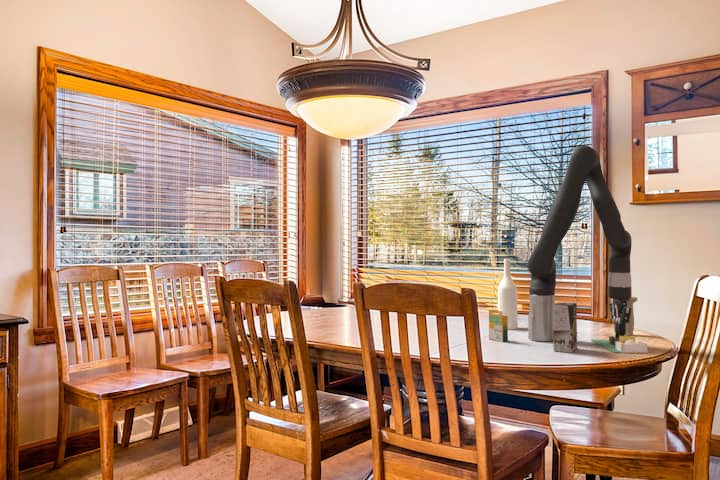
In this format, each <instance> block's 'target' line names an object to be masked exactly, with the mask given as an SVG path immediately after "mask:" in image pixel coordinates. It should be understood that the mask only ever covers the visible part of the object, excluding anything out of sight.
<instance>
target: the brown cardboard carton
mask: <svg viewBox="0 0 720 480" xmlns="http://www.w3.org/2000/svg"><path fill="white" fill-rule="evenodd" d="M608 340H609V344H611V345H615V336H613V335H611V336H608Z"/></svg>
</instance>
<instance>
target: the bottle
mask: <svg viewBox="0 0 720 480" xmlns="http://www.w3.org/2000/svg"><path fill="white" fill-rule="evenodd" d="M511 276H512V275H511V259H510V258H504V259H503V278H502V280H501V282H500V283H499V285H498V287H497V309H498V310H497V311H502V315H505V316H508V331H510V330H518V327H519V325H518V287H517V285H516V284H515V283H516V282H514V281H513V278H512V277H511ZM497 314H499V313H498V312H497Z"/></svg>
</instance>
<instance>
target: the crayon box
mask: <svg viewBox="0 0 720 480" xmlns="http://www.w3.org/2000/svg"><path fill="white" fill-rule="evenodd" d="M498 313H499V314H498ZM508 331H509V330H508V316H505V315H502V311H498V310H495V309H488V340H491V341H496V342H500V343H506V342H509V340H508V339H509V333H508Z"/></svg>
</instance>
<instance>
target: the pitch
mask: <svg viewBox="0 0 720 480" xmlns="http://www.w3.org/2000/svg"><path fill="white" fill-rule="evenodd" d="M591 341H592V343H595V344H597V345H599V346H600V347H602V348H604V349H606V350H608V351H610V352H611V353H613V354H626V353H625V352H624V353H622V352H620V351H618V350H617V349H616V343H615V345H611V344H609V339H591ZM629 354H634V353H633V352H632V353H631V352H630V353H629ZM635 354H647V353H646V352H645V353H644V352H643V353H641V352H640V353H639V352H638V353H637V352H636V353H635Z"/></svg>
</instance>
